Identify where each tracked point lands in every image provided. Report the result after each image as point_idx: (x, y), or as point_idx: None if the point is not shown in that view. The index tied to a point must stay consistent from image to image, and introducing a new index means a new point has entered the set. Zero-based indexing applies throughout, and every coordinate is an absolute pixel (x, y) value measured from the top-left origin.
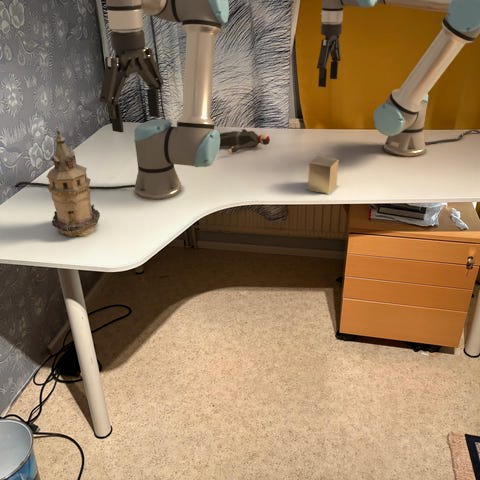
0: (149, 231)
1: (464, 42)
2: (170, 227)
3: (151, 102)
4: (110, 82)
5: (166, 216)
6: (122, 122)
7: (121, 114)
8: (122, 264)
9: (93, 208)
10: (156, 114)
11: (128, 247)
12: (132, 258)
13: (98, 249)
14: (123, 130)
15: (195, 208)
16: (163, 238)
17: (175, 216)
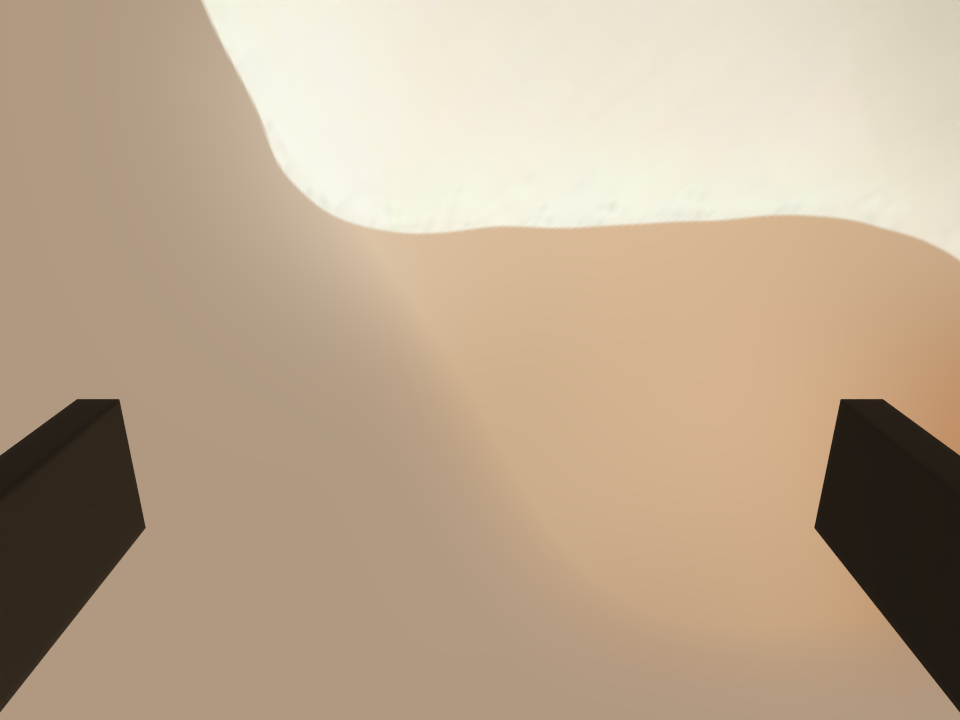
0: (589, 110)
1: None
2: (661, 174)
3: (950, 582)
4: None
5: (752, 86)
6: (80, 605)
7: (6, 699)
8: (317, 192)
9: None
10: (834, 532)
11: (431, 121)
12: (372, 197)
13: (349, 7)
14: (134, 537)
15: (876, 164)
16: (563, 208)
17: (767, 127)
